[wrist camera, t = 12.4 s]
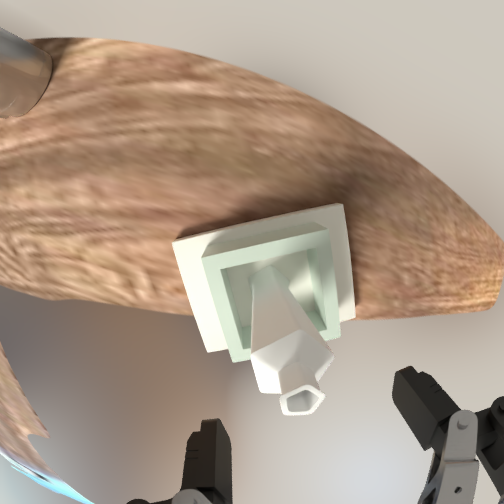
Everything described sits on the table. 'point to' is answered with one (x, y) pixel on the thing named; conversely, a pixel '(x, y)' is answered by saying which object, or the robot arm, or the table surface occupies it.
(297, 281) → the stand
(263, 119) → the table surface
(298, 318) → the perfume bottle
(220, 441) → the robot arm
